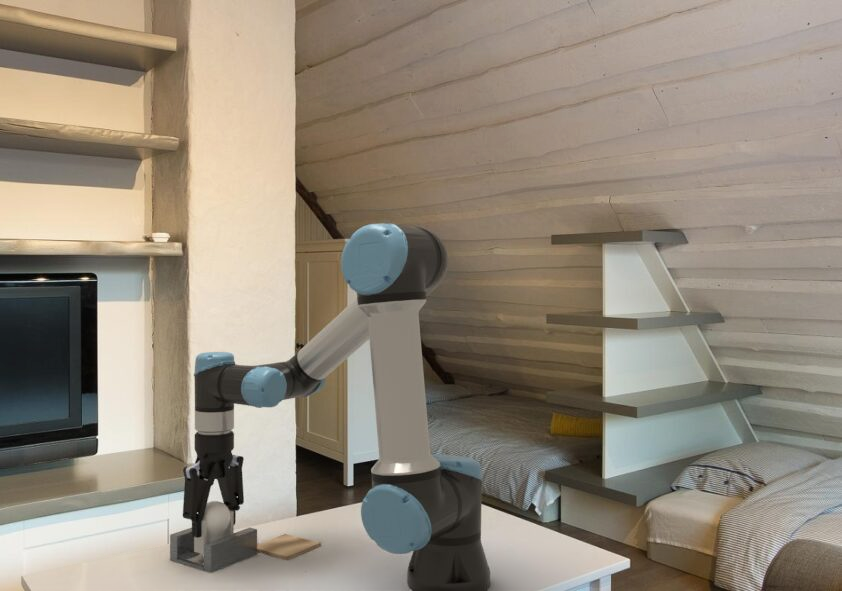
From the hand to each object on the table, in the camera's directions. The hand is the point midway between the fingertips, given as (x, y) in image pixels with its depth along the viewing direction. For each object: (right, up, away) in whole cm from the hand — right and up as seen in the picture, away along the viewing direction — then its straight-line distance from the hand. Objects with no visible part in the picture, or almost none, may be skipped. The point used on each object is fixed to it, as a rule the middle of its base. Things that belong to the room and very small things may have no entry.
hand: (214, 547), depth 157 cm
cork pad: (+13, -2, +6) cm, 15 cm away
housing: (0, -2, 0) cm, 2 cm away
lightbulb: (0, -2, 0) cm, 2 cm away
